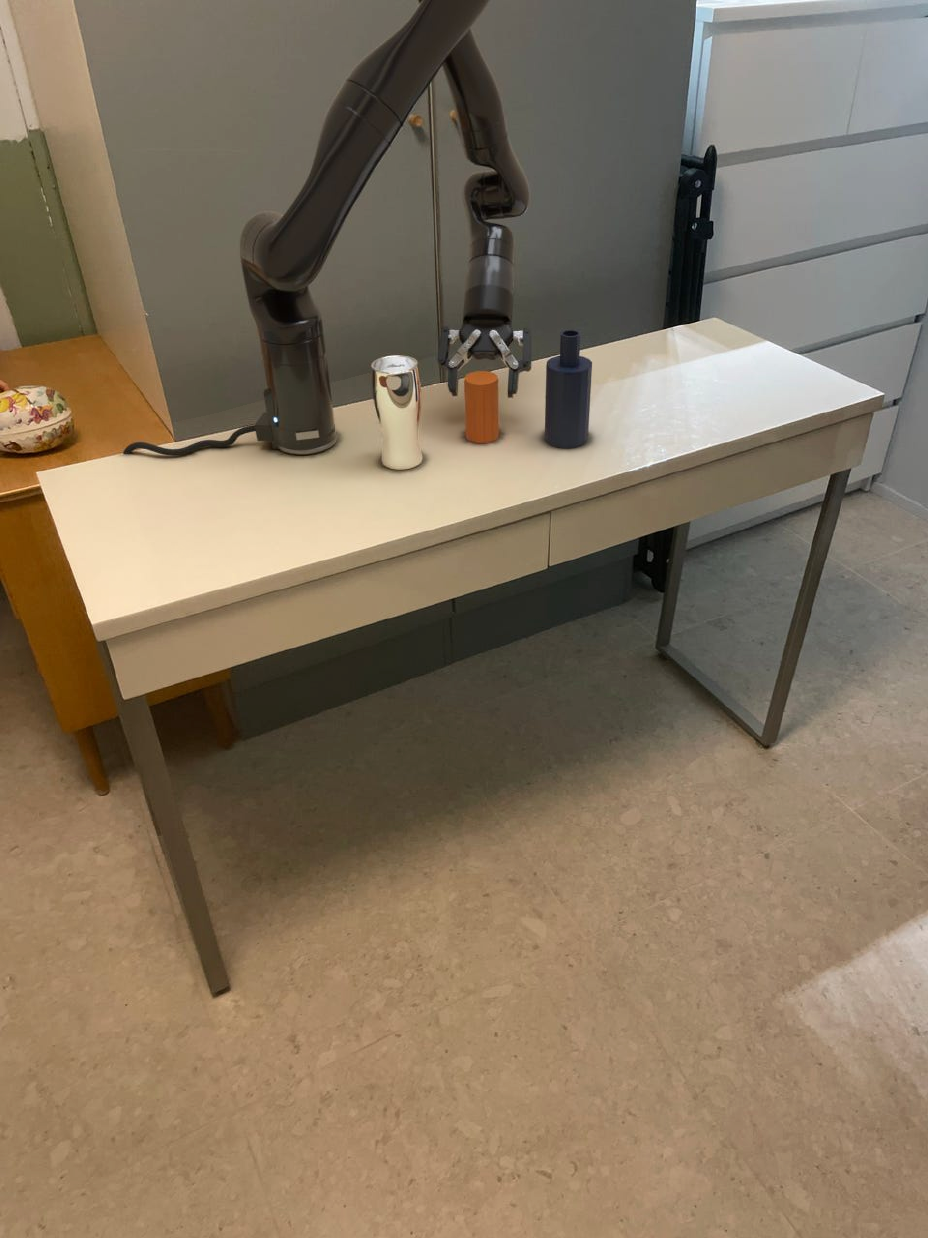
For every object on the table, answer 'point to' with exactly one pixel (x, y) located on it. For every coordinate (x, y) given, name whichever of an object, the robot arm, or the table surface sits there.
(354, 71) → the robot arm
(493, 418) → the grooved orange cylinder
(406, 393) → the silver metal tumbler
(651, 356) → the table surface
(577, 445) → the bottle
